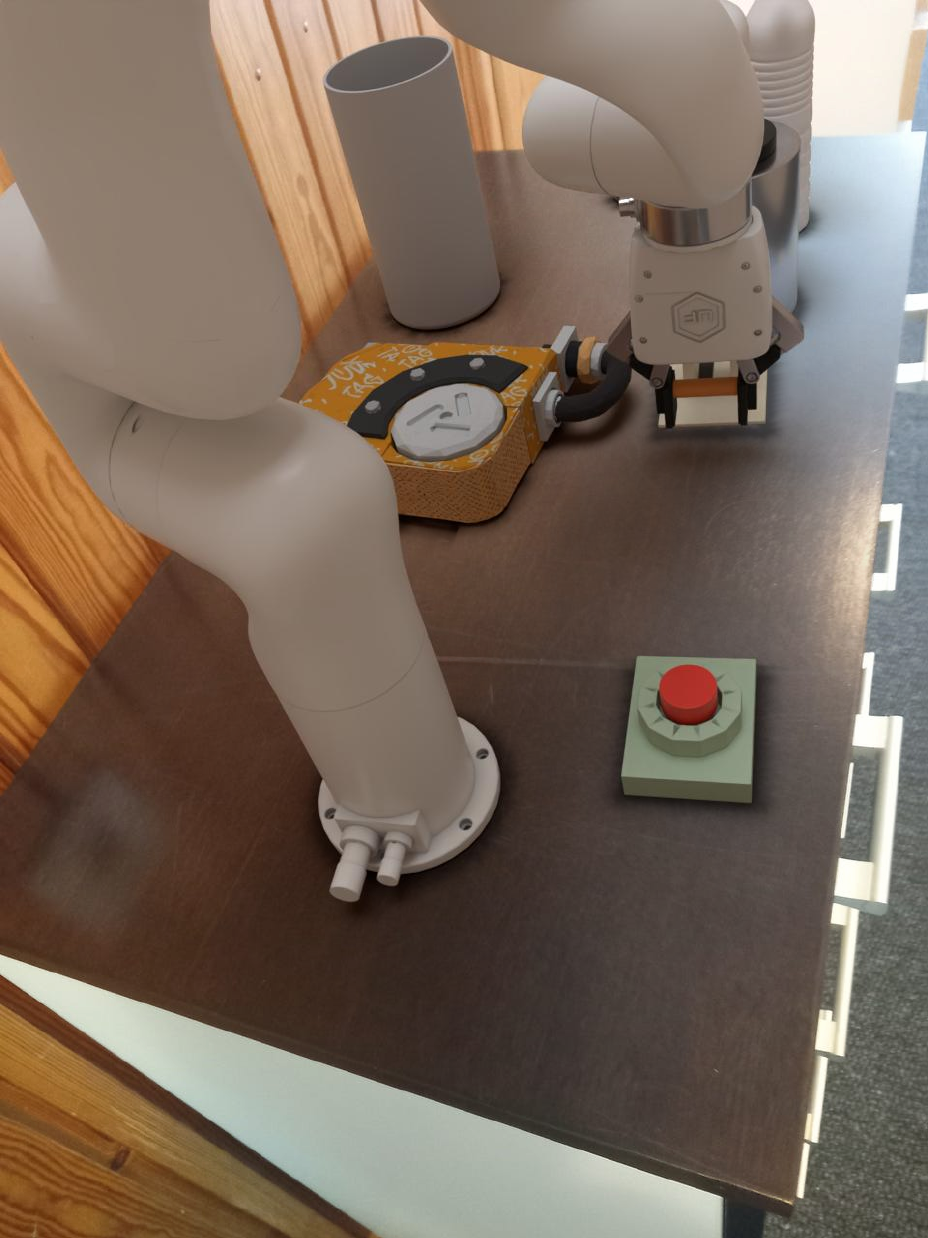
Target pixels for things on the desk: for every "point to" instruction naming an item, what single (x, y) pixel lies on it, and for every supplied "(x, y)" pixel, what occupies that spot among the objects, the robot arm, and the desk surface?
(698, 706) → the power button
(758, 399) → the lever stand
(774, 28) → the water bottle
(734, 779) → the push button block
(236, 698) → the desk surface
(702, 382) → the orange handle lever
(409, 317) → the cylinder vase
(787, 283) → the silver metal cylinder
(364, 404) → the device
